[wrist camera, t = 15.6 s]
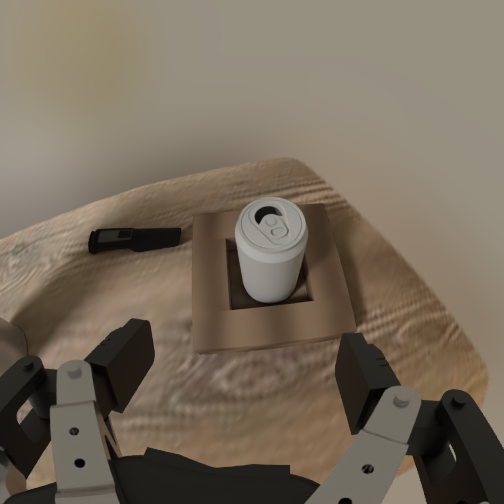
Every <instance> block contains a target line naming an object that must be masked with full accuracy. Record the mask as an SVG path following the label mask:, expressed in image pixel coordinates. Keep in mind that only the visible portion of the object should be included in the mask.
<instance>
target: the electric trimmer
mask: <svg viewBox="0 0 504 504" xmlns="http://www.w3.org/2000/svg"><path fill="white" fill-rule="evenodd" d="M180 234H181V228H146V229H135V228H109V229H97V230H96V231H92V232H91V234H90V237H89V242H88V249H89V252H90V253H93V254H96V251H97V250H108V249H127V248H129V249H131V250H133V251H135V252H144V251H150V250H156V249H162V248H168V247H175V246H178V244H179V240H180Z"/></svg>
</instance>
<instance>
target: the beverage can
mask: <svg viewBox="0 0 504 504" xmlns="http://www.w3.org/2000/svg"><path fill="white" fill-rule="evenodd" d="M235 238H236V244H237V250H238V256H239V261H240V267H241V273H242V279H243V284H244V287H245V289H246V291H247V292H248V294H249V295H250V296H251V297H253V298H254V299H255V300H257V301H260V302H263V303H277V302H280V301H283V300H285V299H286V298H287V297H289V296H290V295H291V293H292V292H293V291H294V289H295V287H296V283H297V279H298V275H299V272H300V268H301V264H302V260H303V256H304V252H305V248H306V243H307V239H308V228H307V225H306V222H305V218H304V215H303V213H302V212H301V210H300V209H299V208H298V207H297V206H296V205H295V204H294V203H292V202H290V201H288V200H286V199H283V198H279V197H264V198H260V199H257V200H255V201H253V202H251V203H249V204H248V205H247V206H246V207H245V208H244V209H243V210H242V212H241V214H240V216H239V220H238V222H237V224H236V227H235Z"/></svg>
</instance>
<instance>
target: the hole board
mask: <svg viewBox="0 0 504 504" xmlns="http://www.w3.org/2000/svg"><path fill="white" fill-rule="evenodd" d="M296 206H297V207H298V208H299V209H300V210H301V212H302V213H303V215H304V218H305V222H306V225H307V228H308V239H307V243H306V248H305V252H304V256H303V260H302V269H303V274H304V279H305V284H306V290H307V295H308V300H309V302H302V303H294V304H286V305H277V306H268V307H259V308H249V309H239V310H232V302H231V288H230V273H229V257H228V251H231V250H237V244H236V238H235V227H236V224H237V222H238V220H239V216H240V214H241V212H242V210H238V211H229V212H220V213H211V214H202V215H194V216H193V247H192V318H193V350H194V351H196V352H197V353H198V354H218V353H232V352H244V351H255V350H264V349H273V348H281V347H289V346H296V345H303V344H310V343H316V342H322V341H328V340H334V339H339V338H341V337H342V335H343V333H354V332H356V331H357V328H356V323H355V318H354V314H353V309H352V305H351V301H350V297H349V292H348V288H347V284H346V280H345V276H344V273H343V269H342V265H341V261H340V258H339V254H338V250H337V247H336V243H335V240H334V236H333V233H332V230H331V226H330V223H329V220H328V217H327V213H326V210H325V207H324V204H323V203H320V204H306V205H296Z"/></svg>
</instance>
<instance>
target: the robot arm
mask: <svg viewBox="0 0 504 504" xmlns="http://www.w3.org/2000/svg"><path fill="white" fill-rule="evenodd" d="M154 357H155V350H154V344H153V338H152V331H151V325H150V322H149V321H147V320H141V319H134V318H132V319H130V320H129V321H128V322H127V323H126V324H125V325H124V326H123V327H120V328H118V329H116V330H114V331H112V332H111V333H110V334H109V335H108V336H107V337H106V338H105V340H103V341H102V342H101V343H100V345H98V346H97V347H96V348H95V349H94V350H93V351H92V352H91V353H90V354H89V355H88V356H87V357H86V358H85V359H84V360H71V361H67V362H65V363H63V364H62V365H61V366H60V367H59V368H58V370H55V369H45V368H44V366H43V363H42V361H41V359H40V358H39V357H37V356H27V343H26V338H25V336H24V333H23V332H22V330H21V329H20V328H19V327H17V326H15V325H13V324H11V323H9V322H7V321H5V320H4V319H2V318H0V504H381V503H382V501H383V499H384V497H385V495H386V494H387V492H388V490H389V488H390V486H391V484H392V482H393V480H394V478H395V476H396V474H397V472H398V470H399V468H400V466H401V463H402V461H403V459H404V456H405V455H412V456H413V459H414V462H415V465H416V468H417V471H418V474H419V478H420V481H421V484H422V488H423V491H424V495H425V498H426V502H427V504H504V449H503V447H502V445H501V443H500V441H499V440H498V438H497V436H496V435H495V433H494V431H493V430H492V428H491V426H490V425H489V423H488V422H487V420H486V418H485V417H484V415H483V413H482V412H481V410H480V409H479V407H478V406H477V404H476V403H475V401H474V400H473V398H472V397H471V396H470V395H469V394H468V393H466V392H464V391H462V390H457V389H453V390H448V391H446V392H445V393H444V394H443V396H442V398H441V400H440V401H429V400H421V398H420V396H419V394H418V393H417V392H416V391H414V390H413V389H411V388H409V387H405V386H401V384H400V382H399V381H398V379H397V377H396V375H395V374H394V372H393V370H392V368H391V367H390V366H389V363H388V362H387V360H385V357H384V355H383V353H382V351H381V350H380V349H378V348H377V347H376V346H374V345H373V344H367V342H366V340H365V338H364V337H363V335H362V333H343V335H342V337H341V341H340V346H339V351H338V355H337V360H336V364H335V377H336V381H337V385H338V388H339V391H340V395H341V398H342V402H343V405H344V409H345V413H346V416H347V420H348V424H349V427H350V431H351V435H355V434H358V435H357V436H356V438H355V439H354V441H353V442H352V444H351V445H350V447H349V448H348V449H347V451H346V452H345V454H344V455H343V457H342V458H341V459H340V461H339V462H338V463H337V465H336V466H335V467H334V469H333V470H332V471H331V473H330V474H329V475H328V476H327V478H326V479H325V480H324V481H323V483H322V484H321V485H320V484H318V483H316V482H314V481H312V480H310V479H307V478H304V477H301V476H297V475H293V474H290V465H260V464H251V465H243V466H233V467H221V468H214V467H210V466H207V465H205V464H202V463H199V462H197V461H194V460H192V459H189V458H187V457H184V456H182V455H179V454H174V453H170V452H165V451H161V450H157V449H153V448H149V447H147V449H146V451H145V454H144V455H132V456H124V457H123V456H122V454H121V451H120V448H119V445H118V442H117V439H116V436H115V433H114V429H113V426H112V422H111V419H110V416H109V413H110V412H111V410H113V411H116V412H119V413H123V411H124V410H125V408H126V406H127V405H128V403H129V402H130V400H131V398H132V397H133V395H134V393H135V392H136V390H137V389H138V387H139V385H140V384H141V382H142V380H143V379H144V377H145V376H146V374H147V372H148V371H149V369H150V368H151V366H152V364H153V362H154ZM27 399H28V400H29V402H30V403H31V405H32V407H33V408H32V410H31V411H30V412H29V413H28V415H27V416H26V417H25V418H24V420H23V421H22V422H21V423H20V425H19V423H18V421H17V412H18V410H19V409H20V407H21V406H22V405H23V404H24V403H25V402H26V400H27ZM50 441H51V442H52V453H53V462H54V469H55V476H56V482H54V483H51V484H48V485H45V486H41V487H38V488H34V489H31V490H27V489H26V480H27V478H28V476H29V475H30V473H31V471H32V470H33V468H34V466H35V465H36V463H37V461H38V460H39V458H40V457H41V455H42V453H43V452H44V450H45V449H46V447H47V446H48V444H49V443H50ZM450 444H451V446H452V448H453V450H454V452H455V455H456V461H455V459H454V456H453V454H452V452H451V450H450V447H449V445H450Z"/></svg>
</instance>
